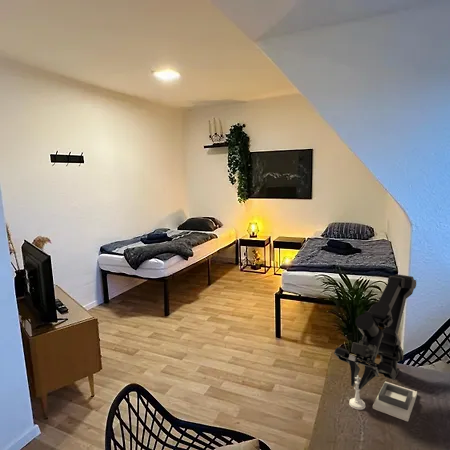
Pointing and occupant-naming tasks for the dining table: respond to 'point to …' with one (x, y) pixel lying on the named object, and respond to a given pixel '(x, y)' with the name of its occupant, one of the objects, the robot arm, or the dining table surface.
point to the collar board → (395, 401)
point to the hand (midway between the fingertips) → (355, 387)
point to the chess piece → (357, 397)
